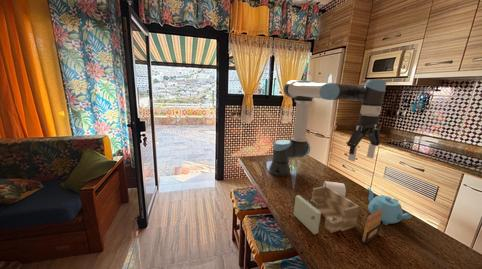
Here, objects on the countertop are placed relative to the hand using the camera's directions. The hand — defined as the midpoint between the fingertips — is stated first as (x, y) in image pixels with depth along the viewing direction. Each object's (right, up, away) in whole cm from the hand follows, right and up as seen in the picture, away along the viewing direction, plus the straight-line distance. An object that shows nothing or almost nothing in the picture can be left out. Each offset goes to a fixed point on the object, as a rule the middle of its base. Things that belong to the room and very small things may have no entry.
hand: (360, 159), depth 91 cm
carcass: (-17, -27, -1) cm, 32 cm away
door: (-29, -28, -6) cm, 41 cm away
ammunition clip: (-4, -31, -13) cm, 34 cm away
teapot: (+10, -29, 0) cm, 30 cm away
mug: (-4, -23, +20) cm, 31 cm away
